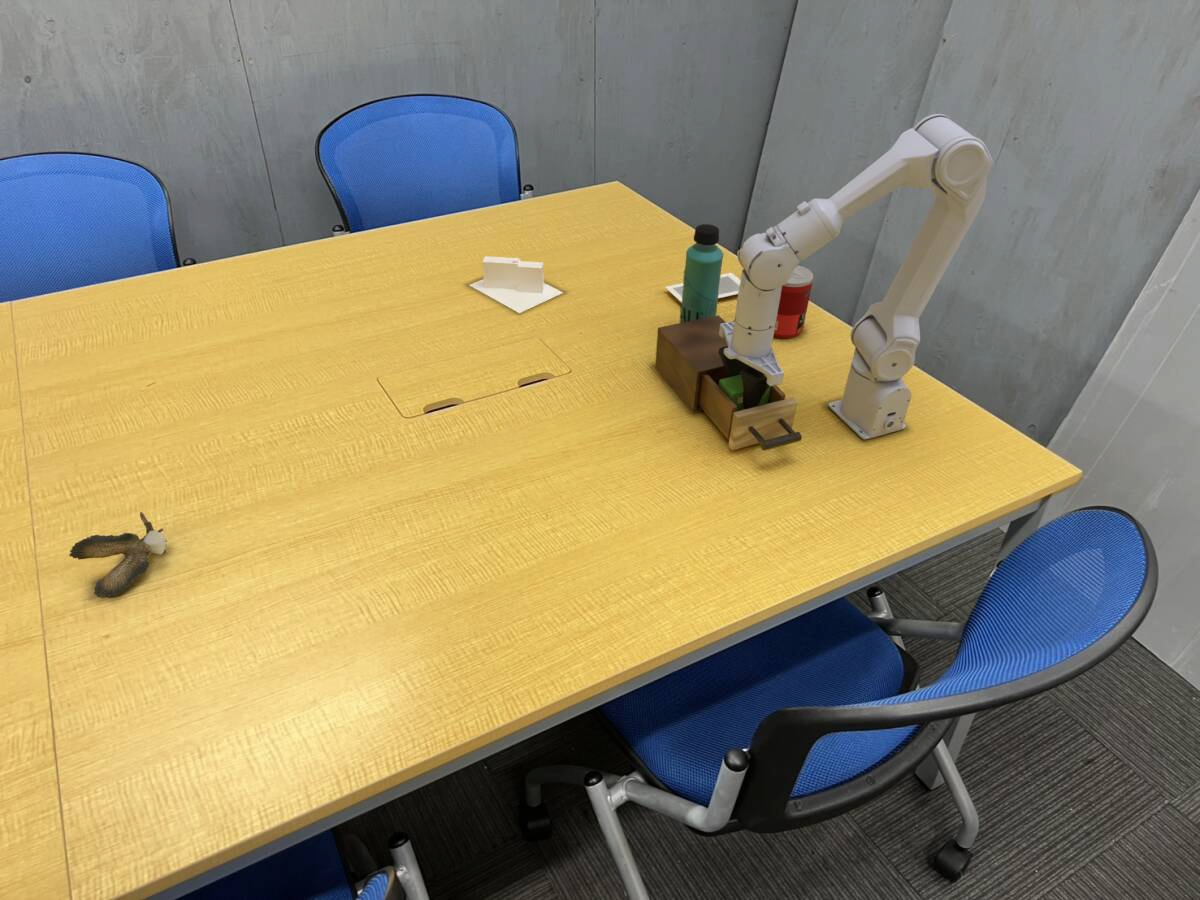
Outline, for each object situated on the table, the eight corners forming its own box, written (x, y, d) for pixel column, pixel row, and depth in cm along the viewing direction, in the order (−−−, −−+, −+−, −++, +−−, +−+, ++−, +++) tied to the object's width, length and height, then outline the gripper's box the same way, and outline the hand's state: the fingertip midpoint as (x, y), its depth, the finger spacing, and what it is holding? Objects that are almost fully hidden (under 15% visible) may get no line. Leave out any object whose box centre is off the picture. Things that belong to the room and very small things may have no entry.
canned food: (805, 340, 142) (817, 284, 135) (760, 339, 142) (770, 283, 135) (798, 317, 148) (809, 263, 141) (755, 316, 148) (763, 262, 141)
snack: (766, 409, 122) (771, 384, 119) (729, 418, 120) (732, 394, 117) (752, 394, 124) (757, 370, 122) (716, 403, 122) (719, 379, 120)
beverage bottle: (714, 324, 146) (727, 220, 133) (714, 344, 141) (728, 237, 128) (678, 322, 146) (687, 217, 134) (677, 341, 141) (687, 235, 129)
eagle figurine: (136, 526, 103) (63, 560, 96) (146, 499, 98) (71, 533, 92) (172, 572, 103) (102, 609, 96) (184, 547, 98) (112, 584, 91)
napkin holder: (468, 285, 156) (465, 258, 152) (511, 266, 162) (510, 239, 159) (520, 313, 148) (518, 285, 144) (564, 292, 154) (563, 265, 151)
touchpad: (752, 295, 155) (754, 285, 153) (684, 310, 150) (685, 300, 148) (730, 277, 160) (731, 267, 159) (664, 292, 155) (665, 281, 154)
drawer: (809, 454, 117) (817, 421, 113) (749, 470, 114) (755, 437, 110) (746, 388, 129) (752, 356, 125) (691, 401, 126) (695, 369, 122)
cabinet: (754, 397, 129) (761, 357, 124) (692, 413, 125) (697, 372, 120) (713, 354, 139) (718, 314, 134) (655, 367, 135) (657, 327, 130)
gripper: (705, 301, 116) (696, 378, 125) (757, 352, 106) (744, 432, 115) (747, 292, 119) (735, 369, 127) (802, 341, 108) (786, 421, 117)
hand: (742, 398), depth 121 cm, fingers closed on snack, 4 cm apart
